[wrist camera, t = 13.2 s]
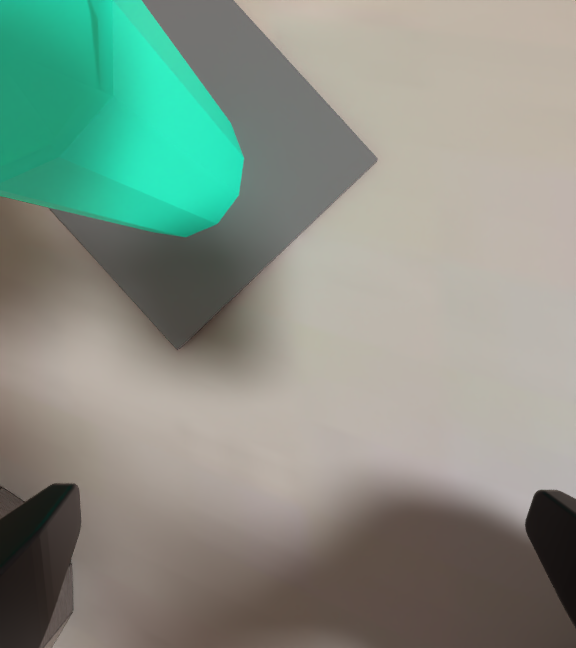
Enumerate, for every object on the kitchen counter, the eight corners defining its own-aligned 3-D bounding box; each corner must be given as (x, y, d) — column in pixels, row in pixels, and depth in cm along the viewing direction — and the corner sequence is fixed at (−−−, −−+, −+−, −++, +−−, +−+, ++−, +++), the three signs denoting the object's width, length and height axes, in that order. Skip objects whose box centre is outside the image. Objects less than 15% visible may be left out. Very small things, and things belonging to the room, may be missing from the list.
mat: (376, 161, 18) (377, 158, 17) (180, 348, 20) (177, 349, 19) (185, -50, 18) (181, -57, 17) (8, 158, 20) (1, 155, 19)
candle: (165, 264, 19) (-129, 244, 7) (87, 155, 19) (-343, -49, 7) (272, 180, 18) (135, -4, 6) (189, 65, 18) (-111, -350, 6)
